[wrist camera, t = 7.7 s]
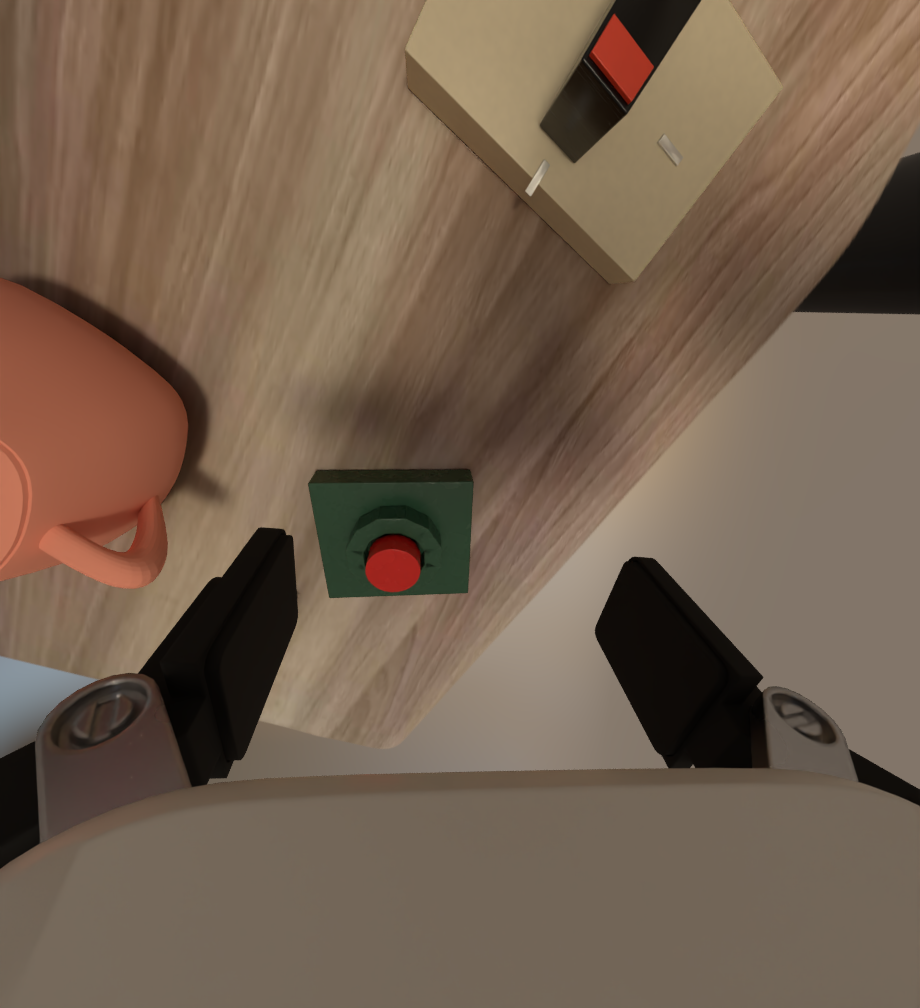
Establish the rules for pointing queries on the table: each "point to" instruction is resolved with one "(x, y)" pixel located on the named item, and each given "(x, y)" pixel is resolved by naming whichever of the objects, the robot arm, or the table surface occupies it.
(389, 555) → the red button
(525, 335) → the table surface
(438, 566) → the button box
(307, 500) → the table surface
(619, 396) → the table surface
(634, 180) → the control panel
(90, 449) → the teapot
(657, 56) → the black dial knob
